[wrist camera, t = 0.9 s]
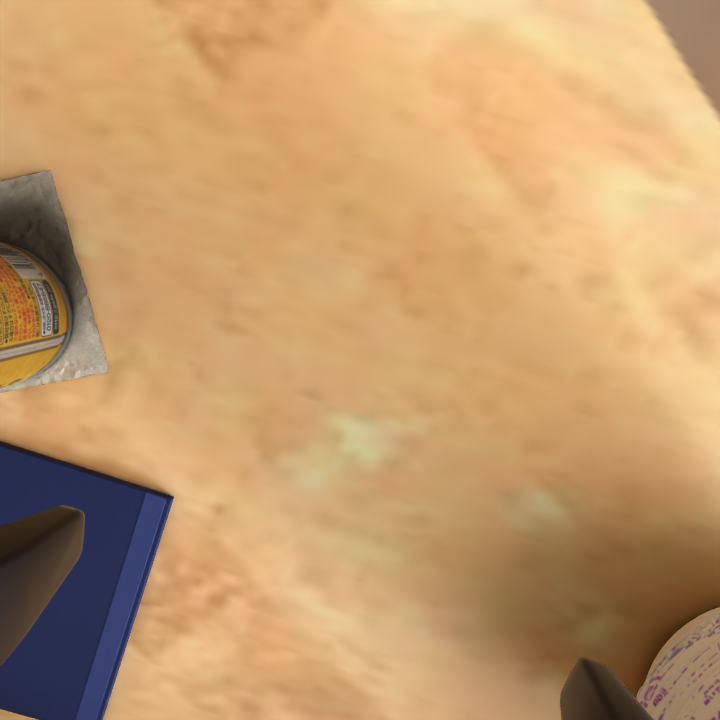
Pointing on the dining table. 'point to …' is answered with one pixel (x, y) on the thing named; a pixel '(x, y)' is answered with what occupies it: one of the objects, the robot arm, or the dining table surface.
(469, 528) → the dining table surface
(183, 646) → the dining table surface
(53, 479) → the cloth
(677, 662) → the paper bowls
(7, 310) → the condiment
